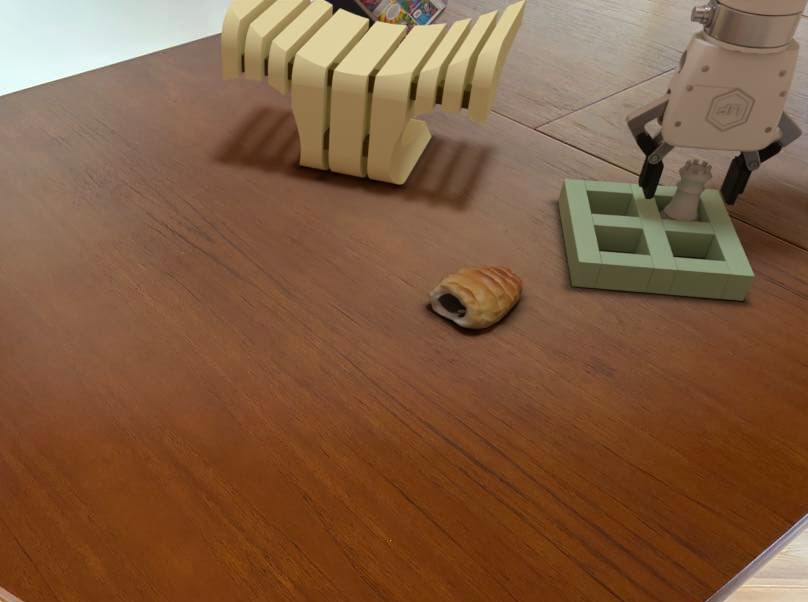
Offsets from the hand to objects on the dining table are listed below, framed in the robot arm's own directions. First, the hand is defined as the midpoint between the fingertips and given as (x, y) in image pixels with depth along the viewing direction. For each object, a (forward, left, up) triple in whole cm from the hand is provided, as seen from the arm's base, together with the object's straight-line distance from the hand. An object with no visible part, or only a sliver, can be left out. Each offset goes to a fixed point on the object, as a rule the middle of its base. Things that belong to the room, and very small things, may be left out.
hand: (686, 194), depth 90 cm
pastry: (+22, +17, -5) cm, 28 cm away
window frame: (+4, +4, -5) cm, 7 cm away
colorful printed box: (+35, -40, -5) cm, 53 cm away
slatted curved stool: (+35, -12, -5) cm, 37 cm away
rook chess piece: (0, 0, -5) cm, 5 cm away
